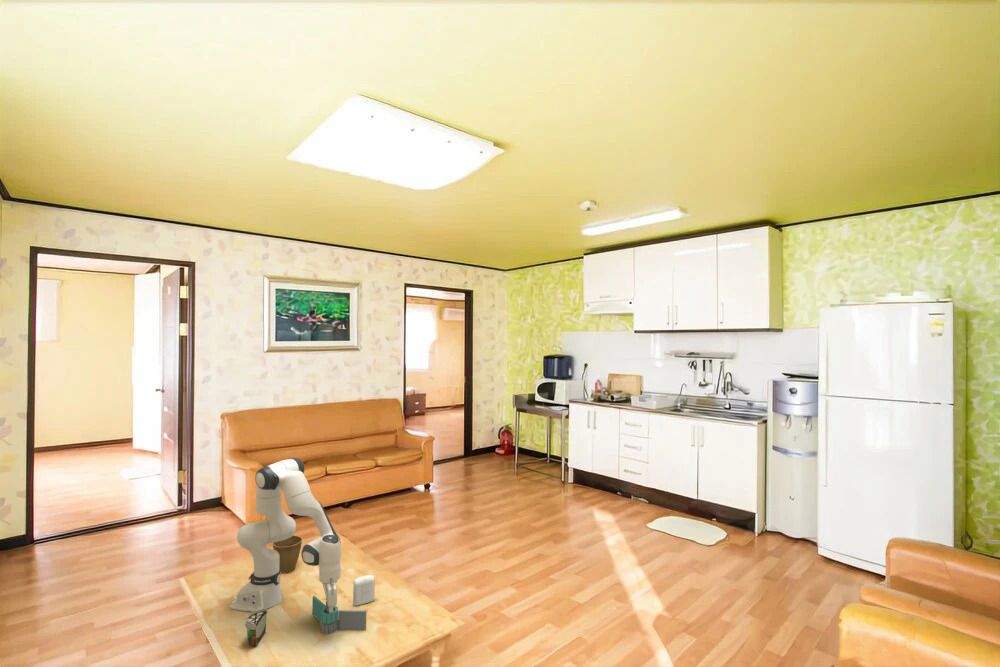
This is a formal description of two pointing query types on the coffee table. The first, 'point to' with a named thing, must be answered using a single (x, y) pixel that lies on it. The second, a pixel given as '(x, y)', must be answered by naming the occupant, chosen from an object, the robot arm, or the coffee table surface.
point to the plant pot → (288, 553)
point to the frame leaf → (346, 621)
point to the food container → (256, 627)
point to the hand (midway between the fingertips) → (329, 606)
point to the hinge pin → (327, 608)
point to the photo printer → (363, 590)
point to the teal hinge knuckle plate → (323, 612)
